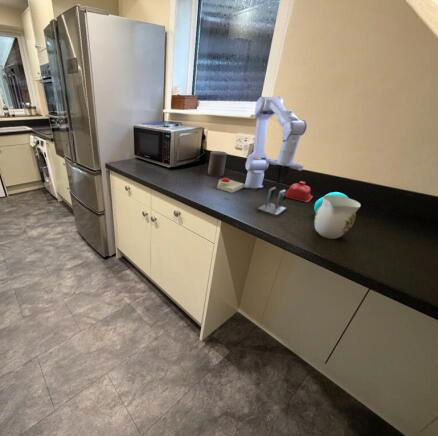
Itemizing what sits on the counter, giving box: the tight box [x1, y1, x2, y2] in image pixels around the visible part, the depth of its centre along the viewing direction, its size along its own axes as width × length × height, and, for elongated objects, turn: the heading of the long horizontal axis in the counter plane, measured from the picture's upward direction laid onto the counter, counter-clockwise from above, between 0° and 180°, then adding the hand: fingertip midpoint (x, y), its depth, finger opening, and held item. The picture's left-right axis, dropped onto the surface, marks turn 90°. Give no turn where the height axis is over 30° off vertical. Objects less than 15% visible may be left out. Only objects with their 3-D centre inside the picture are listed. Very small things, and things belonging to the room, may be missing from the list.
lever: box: [272, 189, 287, 201], centre depth 102 cm, size 12×3×3 cm, turn 132°
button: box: [221, 177, 230, 182], centre depth 124 cm, size 4×4×2 cm
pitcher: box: [313, 195, 362, 240], centre depth 83 cm, size 11×18×14 cm, turn 127°
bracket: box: [257, 186, 287, 216], centre depth 100 cm, size 10×8×10 cm
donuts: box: [313, 191, 349, 214], centre depth 95 cm, size 10×10×10 cm
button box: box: [216, 178, 245, 194], centre depth 126 cm, size 12×10×4 cm
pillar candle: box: [207, 150, 228, 178], centre depth 144 cm, size 10×10×15 cm
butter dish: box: [285, 180, 314, 203], centre depth 113 cm, size 12×12×8 cm
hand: (278, 182), depth 103 cm, fingers closed
